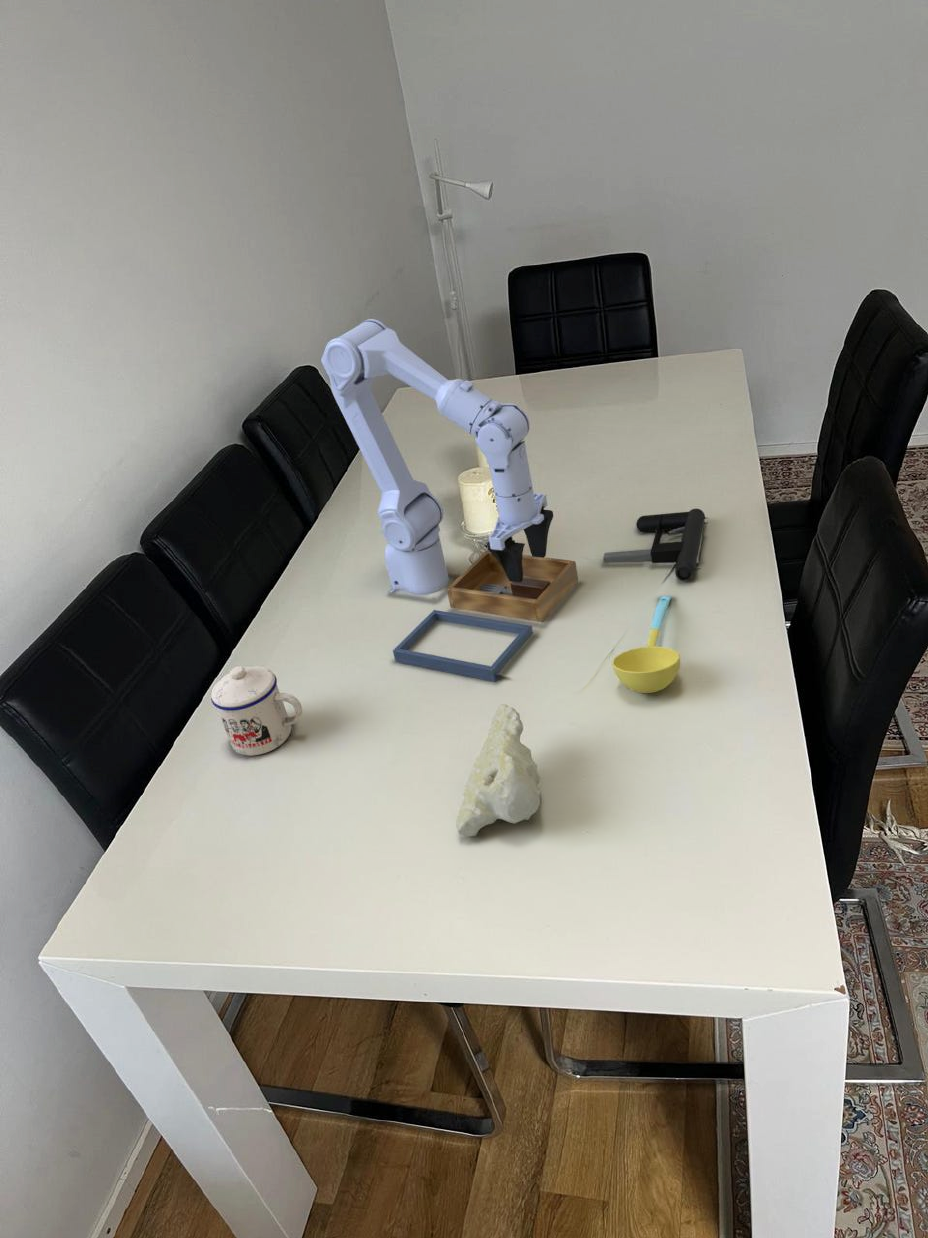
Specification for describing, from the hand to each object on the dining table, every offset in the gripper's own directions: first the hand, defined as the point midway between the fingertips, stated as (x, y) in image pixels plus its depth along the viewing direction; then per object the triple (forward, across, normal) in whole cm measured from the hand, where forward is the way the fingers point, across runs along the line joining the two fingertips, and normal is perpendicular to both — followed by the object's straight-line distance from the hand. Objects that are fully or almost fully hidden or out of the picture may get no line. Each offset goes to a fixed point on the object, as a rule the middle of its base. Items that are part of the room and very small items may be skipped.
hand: (527, 568), depth 152 cm
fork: (+5, 0, +3) cm, 6 cm away
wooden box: (+6, 0, +3) cm, 7 cm away
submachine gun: (+6, +18, -13) cm, 24 cm away
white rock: (+6, -40, -17) cm, 44 cm away
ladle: (+6, -7, -24) cm, 25 cm away
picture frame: (+6, -15, +4) cm, 17 cm away
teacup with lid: (+6, -42, +20) cm, 46 cm away
